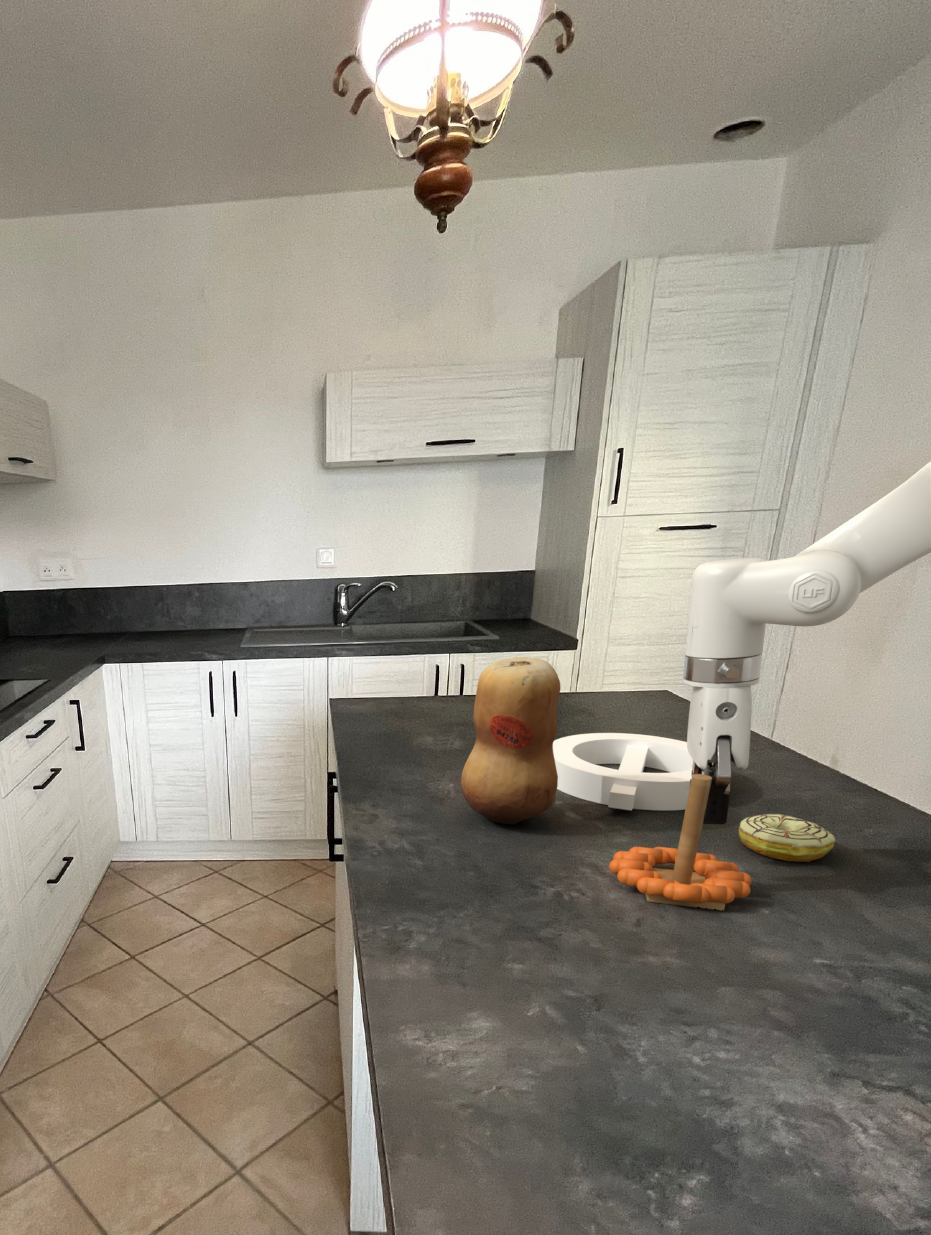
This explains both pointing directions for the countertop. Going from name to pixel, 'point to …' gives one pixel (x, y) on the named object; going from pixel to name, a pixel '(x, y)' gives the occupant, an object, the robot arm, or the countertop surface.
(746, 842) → the decorated donut
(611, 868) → the ring
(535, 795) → the butternut squash
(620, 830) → the countertop surface
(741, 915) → the countertop surface
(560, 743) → the white circle with bar
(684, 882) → the post
